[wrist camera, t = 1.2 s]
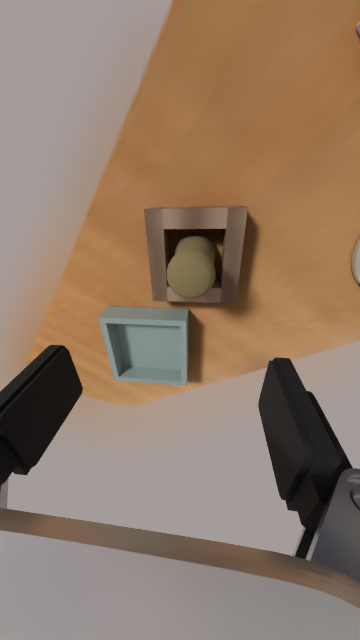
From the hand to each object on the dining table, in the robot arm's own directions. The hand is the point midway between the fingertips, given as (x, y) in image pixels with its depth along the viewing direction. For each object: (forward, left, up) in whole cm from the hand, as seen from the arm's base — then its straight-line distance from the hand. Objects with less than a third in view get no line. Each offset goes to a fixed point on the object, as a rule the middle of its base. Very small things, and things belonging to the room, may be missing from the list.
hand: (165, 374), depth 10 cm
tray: (+8, +16, -24) cm, 30 cm away
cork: (0, 0, -24) cm, 24 cm away
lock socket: (0, 0, -24) cm, 24 cm away
